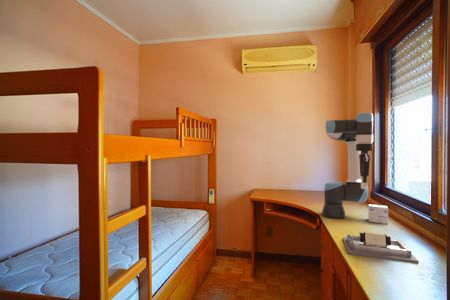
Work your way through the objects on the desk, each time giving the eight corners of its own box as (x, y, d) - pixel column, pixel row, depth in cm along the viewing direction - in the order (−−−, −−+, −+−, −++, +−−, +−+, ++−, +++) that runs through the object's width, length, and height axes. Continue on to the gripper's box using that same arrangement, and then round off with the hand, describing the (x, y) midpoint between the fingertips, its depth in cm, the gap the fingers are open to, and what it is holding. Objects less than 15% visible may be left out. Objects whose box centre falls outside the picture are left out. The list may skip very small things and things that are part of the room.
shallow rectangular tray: (346, 239, 121) (346, 234, 121) (401, 245, 113) (401, 240, 112) (350, 249, 109) (350, 243, 109) (411, 257, 101) (411, 251, 101)
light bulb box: (387, 222, 153) (387, 205, 153) (388, 225, 147) (388, 207, 147) (368, 219, 158) (368, 203, 158) (368, 222, 152) (368, 205, 152)
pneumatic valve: (358, 232, 117) (360, 231, 107) (386, 235, 112) (391, 235, 102) (359, 244, 116) (360, 244, 106) (387, 248, 111) (392, 248, 100)
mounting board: (342, 238, 124) (342, 237, 124) (402, 245, 115) (402, 243, 115) (348, 253, 106) (348, 251, 106) (418, 263, 97) (418, 261, 97)
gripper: (353, 143, 129) (353, 186, 130) (358, 143, 117) (358, 190, 117) (369, 143, 127) (369, 186, 127) (376, 143, 114) (375, 191, 115)
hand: (364, 188), depth 122 cm, fingers closed
